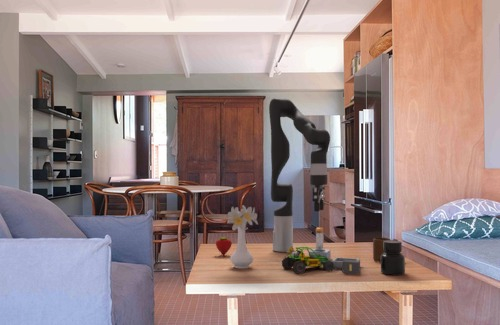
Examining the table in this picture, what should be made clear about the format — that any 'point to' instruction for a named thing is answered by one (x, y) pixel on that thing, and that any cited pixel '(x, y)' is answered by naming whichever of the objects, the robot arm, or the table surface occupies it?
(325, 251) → the socket
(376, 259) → the mug
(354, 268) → the block
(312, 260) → the motor vehicle
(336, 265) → the tray
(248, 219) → the flower vase
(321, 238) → the pin
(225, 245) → the strawberry
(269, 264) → the table surface
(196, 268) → the table surface
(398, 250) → the ink bottle
